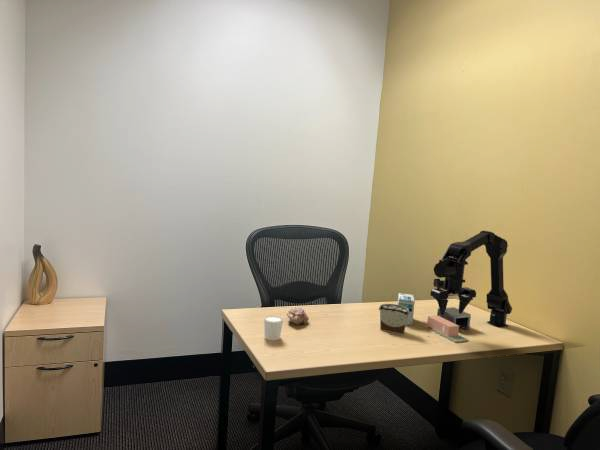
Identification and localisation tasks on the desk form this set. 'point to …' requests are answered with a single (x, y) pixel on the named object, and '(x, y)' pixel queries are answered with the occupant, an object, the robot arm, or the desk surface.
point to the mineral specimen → (297, 316)
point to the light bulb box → (407, 305)
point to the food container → (393, 318)
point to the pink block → (443, 325)
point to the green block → (452, 337)
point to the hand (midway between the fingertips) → (451, 314)
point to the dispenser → (456, 317)
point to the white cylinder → (272, 327)
